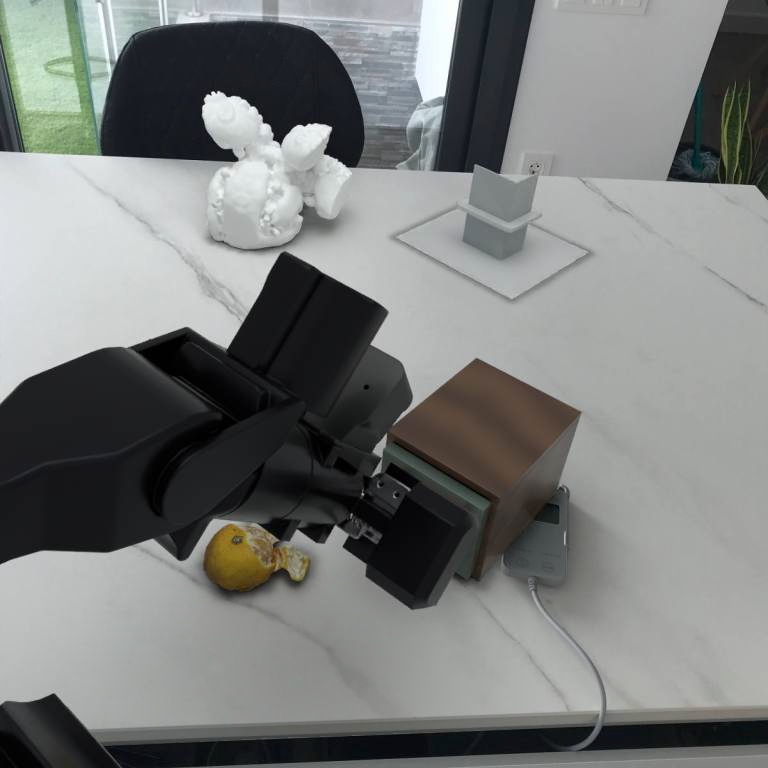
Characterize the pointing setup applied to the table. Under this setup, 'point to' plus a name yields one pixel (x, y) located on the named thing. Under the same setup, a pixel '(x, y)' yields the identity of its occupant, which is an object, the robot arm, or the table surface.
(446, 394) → the cabinet
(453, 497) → the drawer
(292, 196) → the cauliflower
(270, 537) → the fruit
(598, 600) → the table surface
